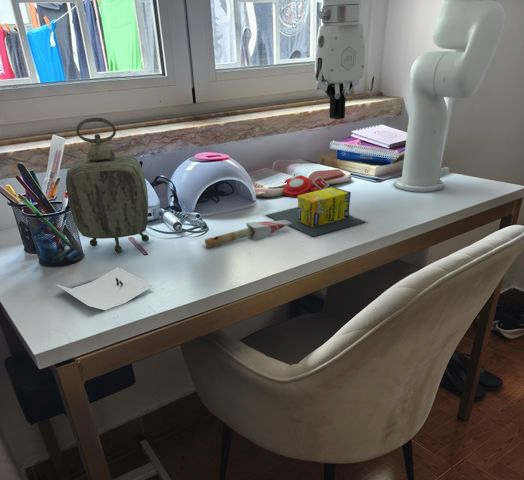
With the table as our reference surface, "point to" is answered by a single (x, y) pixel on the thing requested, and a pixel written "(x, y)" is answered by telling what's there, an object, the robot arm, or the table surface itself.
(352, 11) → the robot arm
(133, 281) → the folded paper
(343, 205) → the supplement box
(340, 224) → the mat
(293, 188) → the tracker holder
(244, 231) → the paintbrush
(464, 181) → the table surface
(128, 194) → the tabletop clock
